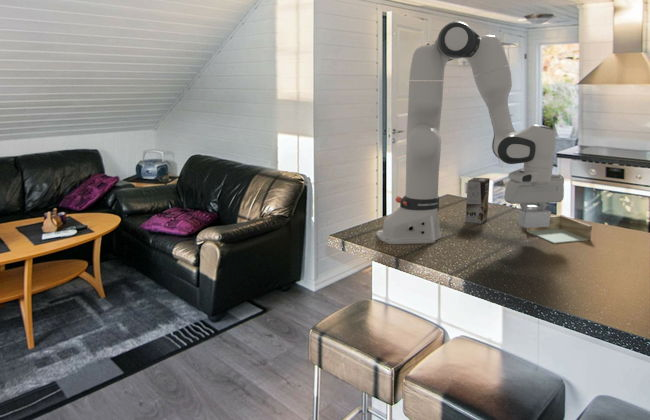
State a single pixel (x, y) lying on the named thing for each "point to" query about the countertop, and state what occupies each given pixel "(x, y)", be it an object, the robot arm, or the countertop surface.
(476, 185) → the coffee box
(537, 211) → the bracket
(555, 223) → the walls
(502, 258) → the countertop surface
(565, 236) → the mat
